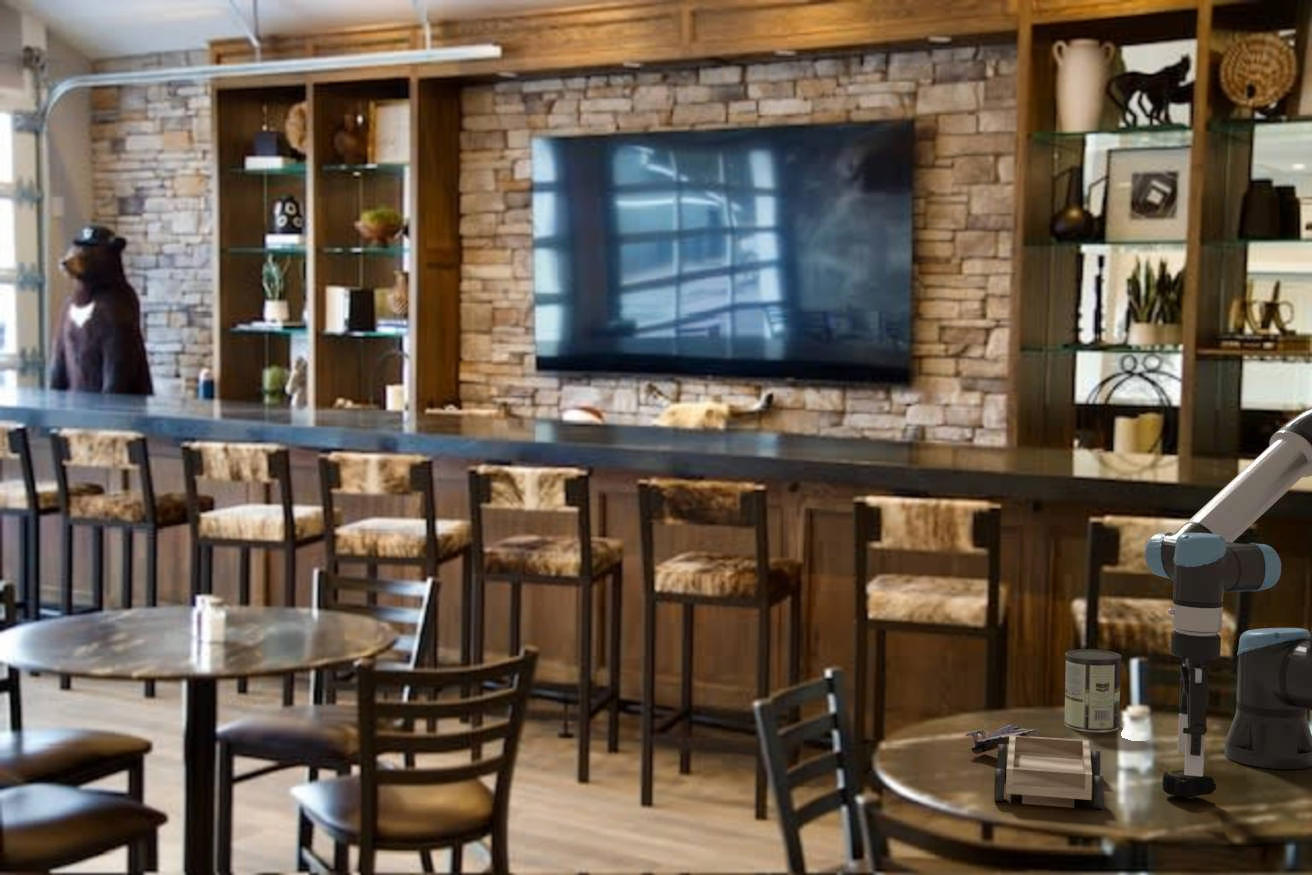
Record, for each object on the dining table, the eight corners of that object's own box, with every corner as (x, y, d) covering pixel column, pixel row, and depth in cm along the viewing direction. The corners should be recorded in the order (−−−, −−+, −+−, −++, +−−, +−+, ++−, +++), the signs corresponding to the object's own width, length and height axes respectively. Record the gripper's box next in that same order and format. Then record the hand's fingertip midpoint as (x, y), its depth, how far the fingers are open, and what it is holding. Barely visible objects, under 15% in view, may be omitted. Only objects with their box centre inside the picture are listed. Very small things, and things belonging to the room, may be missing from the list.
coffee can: (1089, 718, 314) (1091, 646, 313) (1131, 730, 306) (1133, 656, 305) (1051, 725, 309) (1053, 651, 308) (1092, 736, 300) (1095, 661, 299)
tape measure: (1181, 802, 256) (1181, 778, 256) (1153, 793, 262) (1153, 770, 262) (1216, 798, 258) (1216, 775, 258) (1187, 790, 265) (1187, 767, 265)
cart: (998, 768, 277) (998, 734, 277) (1098, 775, 273) (1099, 740, 273) (993, 804, 256) (994, 767, 255) (1103, 813, 252) (1104, 775, 251)
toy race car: (1044, 734, 279) (1038, 711, 280) (1024, 735, 275) (1018, 712, 276) (987, 753, 288) (981, 731, 289) (966, 754, 284) (961, 731, 286)
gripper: (1165, 617, 269) (1159, 744, 270) (1177, 643, 244) (1170, 782, 245) (1213, 620, 267) (1207, 747, 268) (1229, 646, 243) (1223, 786, 244)
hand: (1189, 764), depth 257 cm, fingers open, 13 cm apart
